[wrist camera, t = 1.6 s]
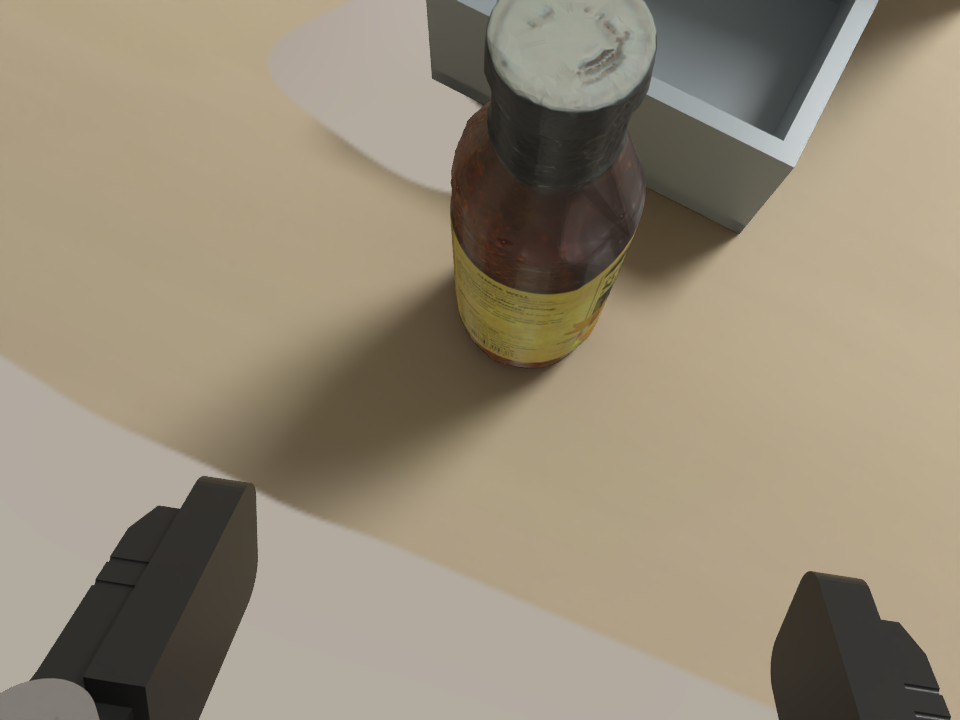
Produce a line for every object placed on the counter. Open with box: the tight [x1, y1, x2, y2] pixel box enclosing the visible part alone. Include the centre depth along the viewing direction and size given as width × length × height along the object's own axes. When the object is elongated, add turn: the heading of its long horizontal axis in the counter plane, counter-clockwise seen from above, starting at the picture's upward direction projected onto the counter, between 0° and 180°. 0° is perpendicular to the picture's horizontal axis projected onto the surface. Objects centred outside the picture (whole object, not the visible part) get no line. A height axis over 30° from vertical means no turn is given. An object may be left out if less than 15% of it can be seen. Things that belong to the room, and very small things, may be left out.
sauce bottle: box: [450, 0, 657, 368], centre depth 30 cm, size 7×6×20 cm
